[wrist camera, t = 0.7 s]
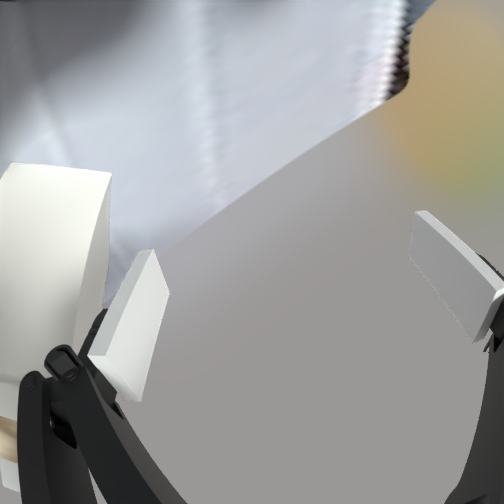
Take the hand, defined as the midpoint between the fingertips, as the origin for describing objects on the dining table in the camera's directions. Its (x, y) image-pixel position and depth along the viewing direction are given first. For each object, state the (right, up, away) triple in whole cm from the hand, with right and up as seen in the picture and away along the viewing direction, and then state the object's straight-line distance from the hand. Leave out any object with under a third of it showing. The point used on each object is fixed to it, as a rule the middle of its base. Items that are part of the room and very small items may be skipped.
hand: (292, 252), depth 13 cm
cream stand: (-31, +5, +23) cm, 39 cm away
